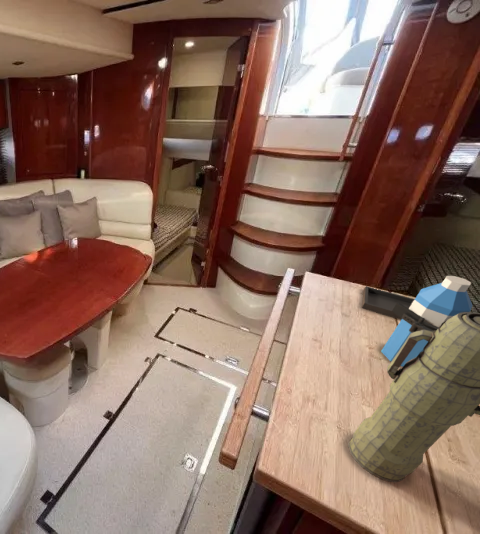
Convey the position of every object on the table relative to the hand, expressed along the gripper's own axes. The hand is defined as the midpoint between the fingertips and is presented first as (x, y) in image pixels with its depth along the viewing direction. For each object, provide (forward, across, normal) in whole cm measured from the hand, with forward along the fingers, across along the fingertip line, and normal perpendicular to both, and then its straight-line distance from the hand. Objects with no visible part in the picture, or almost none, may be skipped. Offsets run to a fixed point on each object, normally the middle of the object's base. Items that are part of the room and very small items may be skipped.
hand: (414, 306), depth 80 cm
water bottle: (-4, 0, -14) cm, 15 cm away
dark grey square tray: (+18, +16, -14) cm, 28 cm away
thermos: (-29, -30, -14) cm, 44 cm away
